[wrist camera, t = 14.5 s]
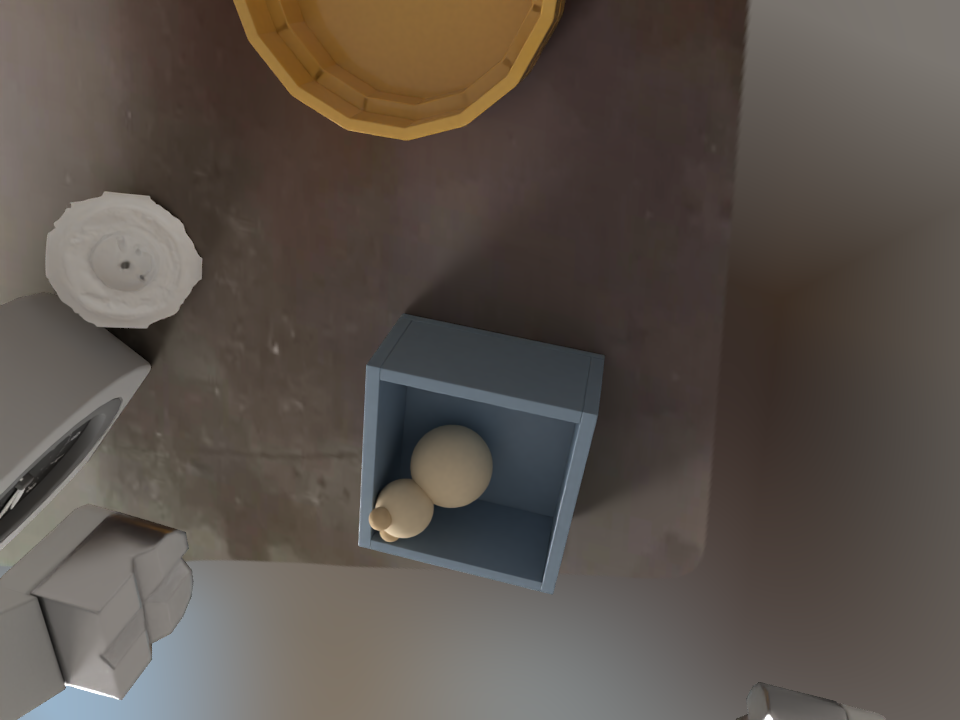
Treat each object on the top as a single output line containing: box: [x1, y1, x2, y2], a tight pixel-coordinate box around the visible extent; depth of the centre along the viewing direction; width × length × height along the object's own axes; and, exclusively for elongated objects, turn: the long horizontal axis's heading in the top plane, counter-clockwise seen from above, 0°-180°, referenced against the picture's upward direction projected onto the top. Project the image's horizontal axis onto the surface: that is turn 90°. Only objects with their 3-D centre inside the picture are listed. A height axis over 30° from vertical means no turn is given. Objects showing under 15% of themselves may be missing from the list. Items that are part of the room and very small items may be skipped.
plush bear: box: [369, 425, 493, 542], centre depth 44 cm, size 5×5×9 cm
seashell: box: [45, 191, 202, 328], centre depth 43 cm, size 8×5×8 cm
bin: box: [359, 314, 605, 594], centre depth 43 cm, size 13×14×7 cm
